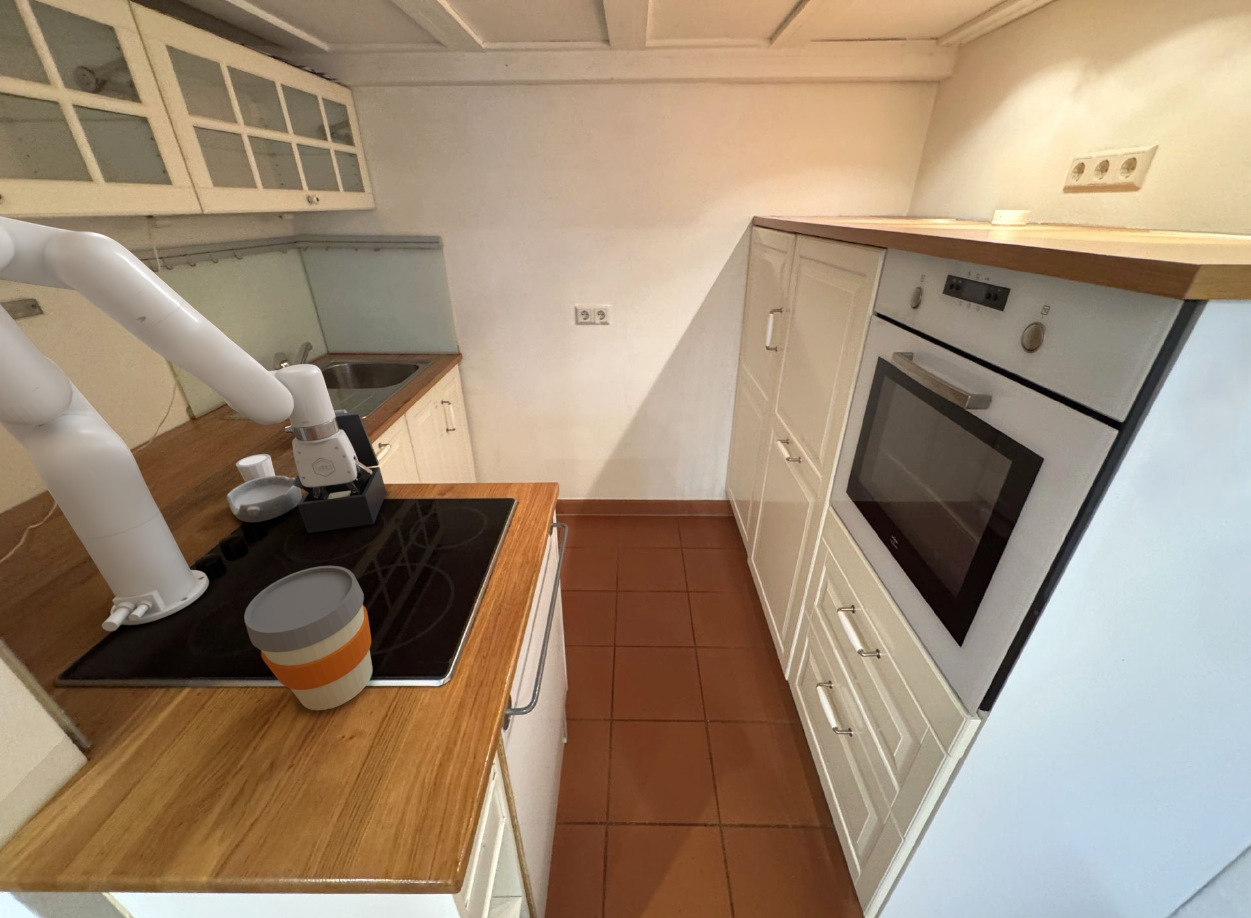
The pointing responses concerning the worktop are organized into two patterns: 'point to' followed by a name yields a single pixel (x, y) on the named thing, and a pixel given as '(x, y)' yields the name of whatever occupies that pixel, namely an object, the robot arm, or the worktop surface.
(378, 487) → the dark grey storage bin
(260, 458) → the white fluted cup
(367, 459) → the lid
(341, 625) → the reusable coffee cup
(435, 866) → the worktop surface
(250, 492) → the dish
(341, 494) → the cream rectangular block
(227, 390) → the robot arm
